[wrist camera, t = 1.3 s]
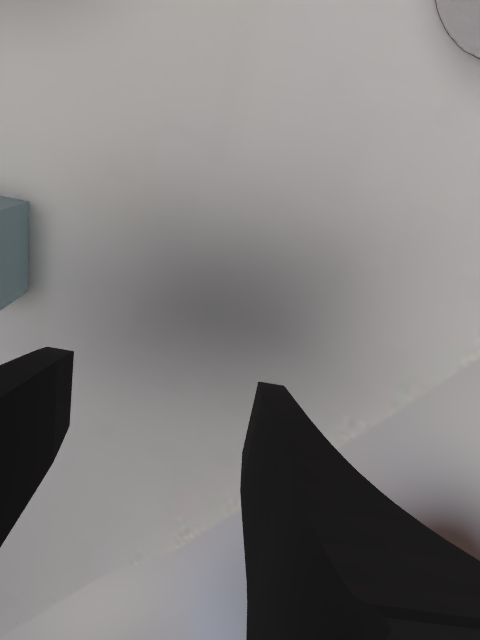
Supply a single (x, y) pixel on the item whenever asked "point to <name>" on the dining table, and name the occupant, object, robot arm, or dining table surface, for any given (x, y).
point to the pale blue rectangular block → (13, 249)
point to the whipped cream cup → (462, 22)
